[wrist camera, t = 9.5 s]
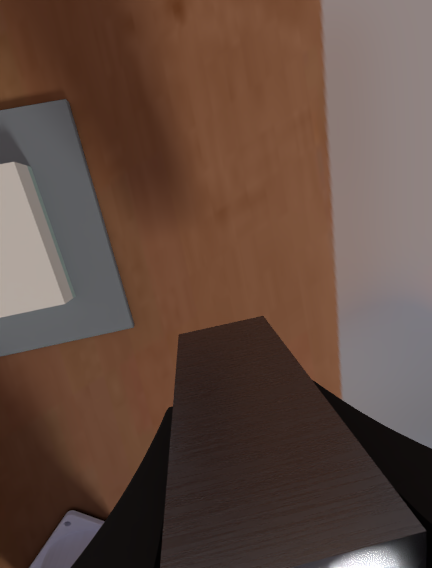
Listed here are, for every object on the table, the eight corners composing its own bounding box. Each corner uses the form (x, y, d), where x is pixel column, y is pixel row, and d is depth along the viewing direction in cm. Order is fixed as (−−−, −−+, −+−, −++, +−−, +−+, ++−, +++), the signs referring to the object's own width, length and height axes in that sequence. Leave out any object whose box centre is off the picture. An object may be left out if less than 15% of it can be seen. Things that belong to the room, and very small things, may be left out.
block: (274, 388, 14) (425, 687, 5) (196, 407, 14) (212, 750, 5) (263, 315, 13) (426, 530, 4) (178, 334, 12) (157, 603, 4)
